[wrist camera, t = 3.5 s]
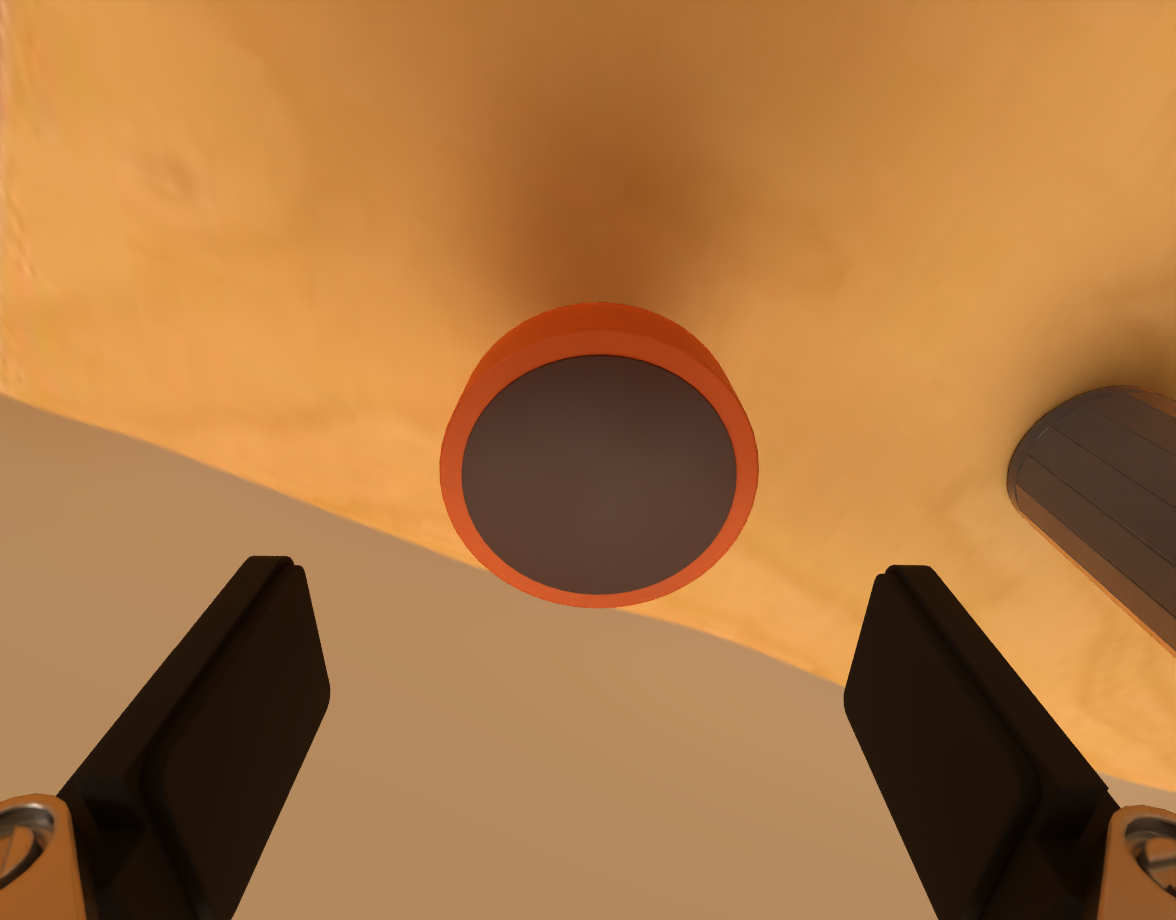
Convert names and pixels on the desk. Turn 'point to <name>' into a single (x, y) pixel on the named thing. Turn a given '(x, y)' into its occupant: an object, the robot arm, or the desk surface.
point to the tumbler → (1108, 497)
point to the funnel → (598, 457)
